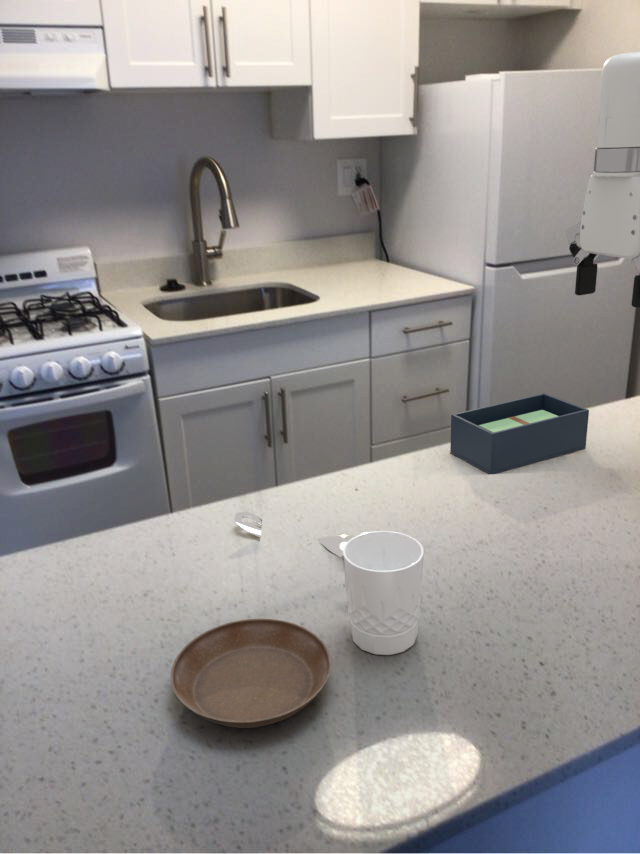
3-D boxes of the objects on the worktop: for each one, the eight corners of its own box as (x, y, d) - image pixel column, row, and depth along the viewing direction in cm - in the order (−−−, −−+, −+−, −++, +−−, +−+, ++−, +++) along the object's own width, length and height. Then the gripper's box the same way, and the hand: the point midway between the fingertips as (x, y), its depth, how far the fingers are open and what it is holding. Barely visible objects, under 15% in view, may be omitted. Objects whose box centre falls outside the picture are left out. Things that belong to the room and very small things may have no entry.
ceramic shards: (224, 506, 97) (247, 492, 101) (225, 530, 99) (247, 516, 102) (357, 554, 87) (377, 537, 91) (357, 580, 89) (376, 562, 92)
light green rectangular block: (558, 443, 121) (560, 416, 120) (493, 460, 116) (495, 432, 114) (540, 435, 125) (542, 409, 123) (477, 451, 119) (478, 424, 118)
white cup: (331, 643, 77) (327, 557, 73) (370, 604, 83) (368, 523, 79) (400, 669, 72) (399, 580, 69) (435, 626, 78) (437, 542, 75)
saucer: (265, 620, 81) (263, 599, 80) (365, 687, 70) (364, 663, 69) (143, 688, 71) (139, 664, 70) (237, 775, 61) (234, 749, 60)
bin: (541, 429, 129) (544, 392, 126) (585, 448, 120) (589, 409, 118) (450, 453, 121) (451, 414, 118) (490, 475, 112) (492, 434, 110)
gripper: (707, 162, 88) (688, 307, 94) (595, 161, 103) (584, 286, 109) (662, 165, 85) (645, 315, 91) (553, 164, 100) (544, 293, 106)
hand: (612, 299), depth 100 cm, fingers open, 9 cm apart
